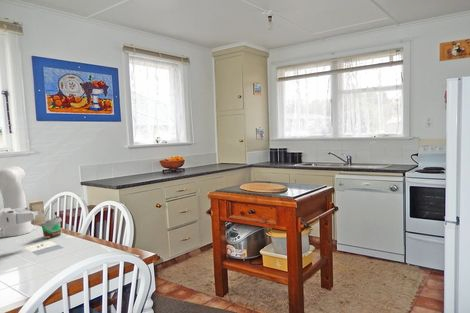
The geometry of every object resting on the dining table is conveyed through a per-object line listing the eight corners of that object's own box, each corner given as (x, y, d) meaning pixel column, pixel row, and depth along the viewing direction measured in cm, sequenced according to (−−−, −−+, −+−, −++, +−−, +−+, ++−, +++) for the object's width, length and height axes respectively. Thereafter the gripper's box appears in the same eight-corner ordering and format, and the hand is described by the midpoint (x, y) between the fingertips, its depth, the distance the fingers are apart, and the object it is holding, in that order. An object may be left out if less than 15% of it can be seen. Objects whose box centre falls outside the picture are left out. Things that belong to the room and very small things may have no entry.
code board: (24, 248, 171) (24, 247, 171) (49, 241, 180) (49, 240, 180) (37, 255, 158) (37, 255, 158) (64, 248, 167) (64, 247, 167)
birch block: (31, 223, 171) (28, 202, 170) (41, 221, 174) (39, 200, 173) (34, 225, 167) (32, 203, 166) (45, 222, 171) (43, 201, 170)
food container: (52, 240, 181) (50, 222, 180) (42, 240, 182) (40, 222, 181) (68, 233, 193) (66, 215, 192) (58, 233, 194) (56, 215, 193)
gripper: (1, 221, 168) (32, 214, 178) (14, 227, 154) (46, 219, 164) (-1, 208, 168) (31, 202, 178) (12, 213, 154) (45, 207, 164)
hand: (38, 211), depth 171 cm, fingers closed on birch block, 5 cm apart
